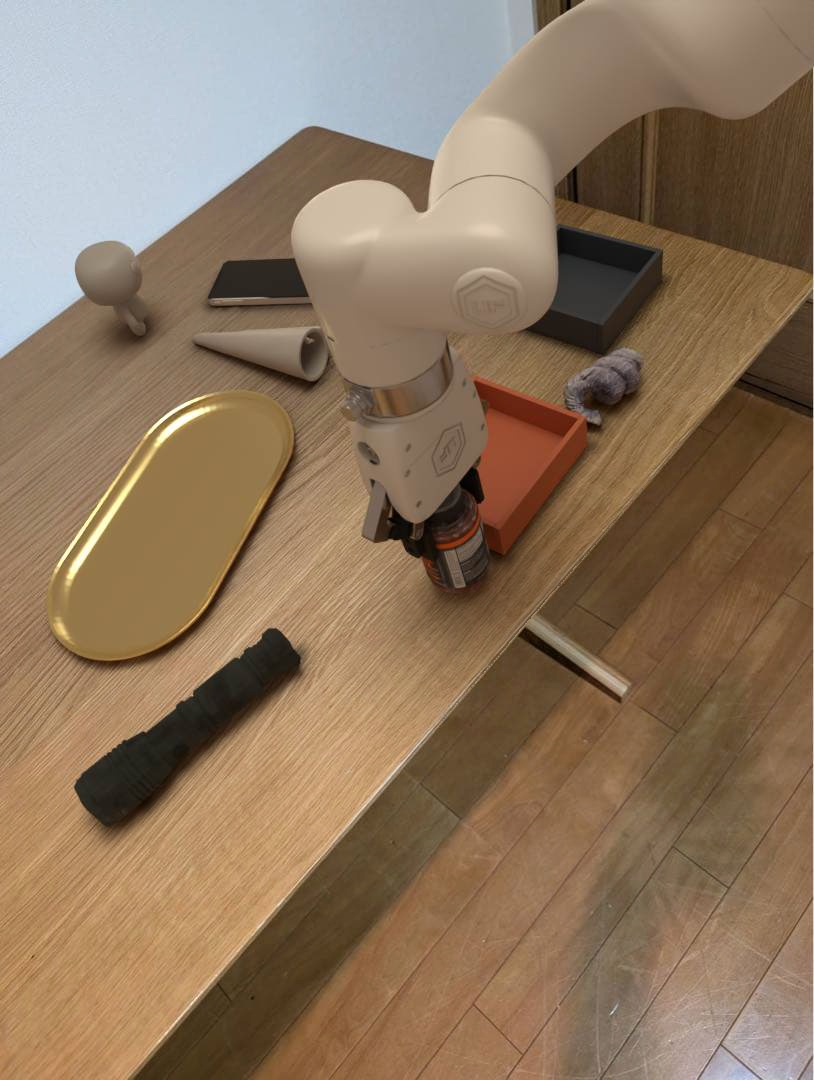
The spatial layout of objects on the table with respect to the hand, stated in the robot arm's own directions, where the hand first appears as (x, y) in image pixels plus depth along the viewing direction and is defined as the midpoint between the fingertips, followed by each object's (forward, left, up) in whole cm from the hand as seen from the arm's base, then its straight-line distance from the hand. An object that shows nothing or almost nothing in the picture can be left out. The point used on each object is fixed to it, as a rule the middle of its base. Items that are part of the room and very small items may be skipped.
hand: (445, 523), depth 71 cm
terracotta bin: (+5, -12, -9) cm, 15 cm away
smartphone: (+48, -25, -9) cm, 54 cm away
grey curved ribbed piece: (0, -26, -9) cm, 27 cm away
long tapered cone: (+40, -13, -9) cm, 42 cm away
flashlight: (+11, +24, -9) cm, 28 cm away
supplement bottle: (0, 0, -7) cm, 7 cm away
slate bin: (+10, -38, -9) cm, 40 cm away
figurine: (+59, -11, -9) cm, 60 cm away
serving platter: (+30, +9, -9) cm, 33 cm away
